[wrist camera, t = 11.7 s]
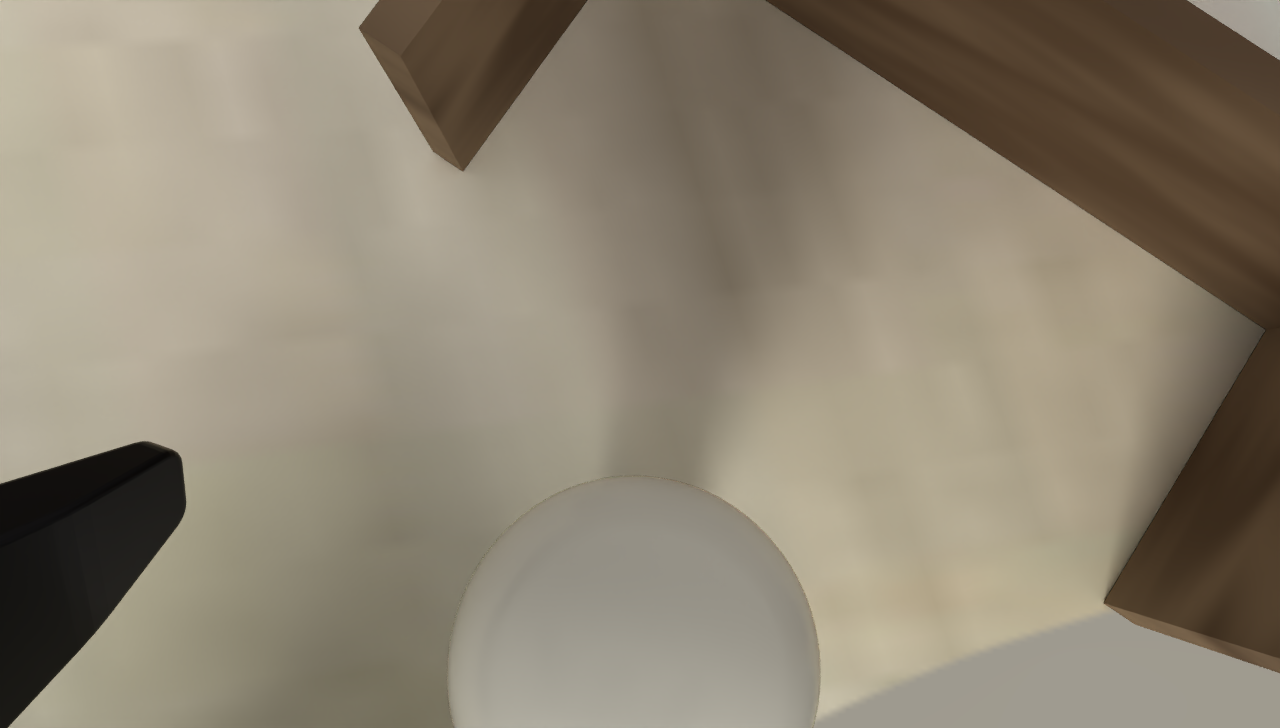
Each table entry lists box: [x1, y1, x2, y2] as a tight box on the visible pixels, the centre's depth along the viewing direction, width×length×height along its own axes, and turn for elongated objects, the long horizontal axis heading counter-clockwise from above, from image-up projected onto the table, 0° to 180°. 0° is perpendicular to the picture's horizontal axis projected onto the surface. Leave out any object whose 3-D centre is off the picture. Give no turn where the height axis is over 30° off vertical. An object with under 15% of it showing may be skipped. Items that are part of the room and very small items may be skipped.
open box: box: [359, 0, 1280, 673], centre depth 20 cm, size 10×23×7 cm, turn 56°
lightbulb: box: [447, 476, 821, 728], centre depth 17 cm, size 6×6×11 cm
